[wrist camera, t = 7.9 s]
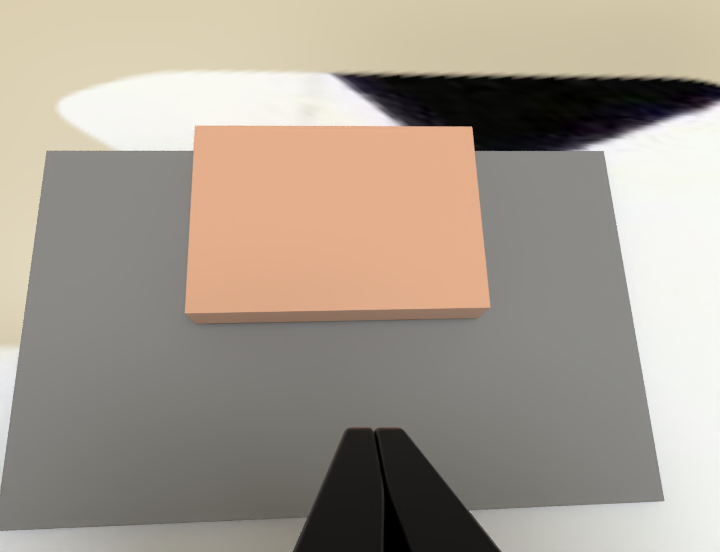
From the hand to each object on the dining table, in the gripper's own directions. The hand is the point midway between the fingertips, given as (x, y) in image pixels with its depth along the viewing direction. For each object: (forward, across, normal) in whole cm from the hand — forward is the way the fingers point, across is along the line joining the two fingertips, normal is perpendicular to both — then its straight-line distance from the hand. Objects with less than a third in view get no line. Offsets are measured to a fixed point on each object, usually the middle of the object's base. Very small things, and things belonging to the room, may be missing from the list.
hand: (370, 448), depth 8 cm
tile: (+12, 0, +5) cm, 13 cm away
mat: (+13, 0, +6) cm, 14 cm away
